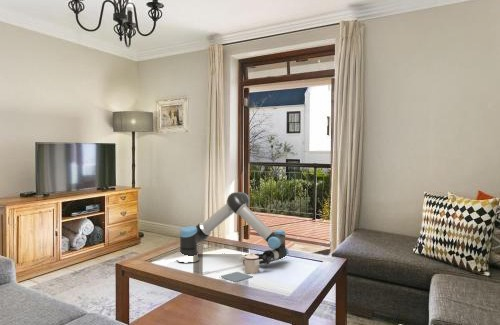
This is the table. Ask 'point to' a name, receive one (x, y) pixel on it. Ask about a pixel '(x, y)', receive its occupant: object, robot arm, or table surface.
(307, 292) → the table surface
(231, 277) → the mat
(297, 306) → the table surface
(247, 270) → the teacup with lid
